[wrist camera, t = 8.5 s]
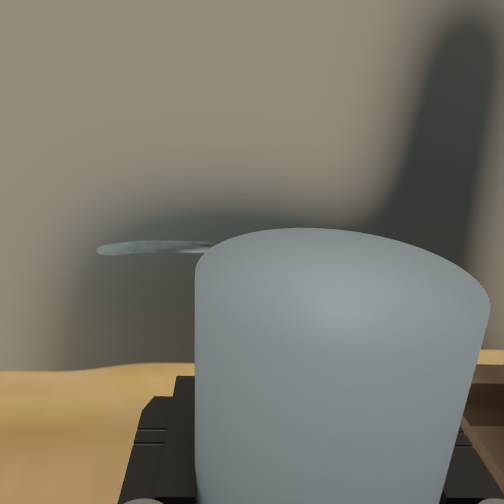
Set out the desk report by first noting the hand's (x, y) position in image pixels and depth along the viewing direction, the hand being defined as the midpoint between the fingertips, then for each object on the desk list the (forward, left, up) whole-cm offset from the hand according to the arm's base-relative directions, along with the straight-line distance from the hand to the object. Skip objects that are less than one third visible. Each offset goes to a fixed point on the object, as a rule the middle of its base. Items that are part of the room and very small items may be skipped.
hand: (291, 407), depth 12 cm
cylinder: (0, +3, -6) cm, 7 cm away
